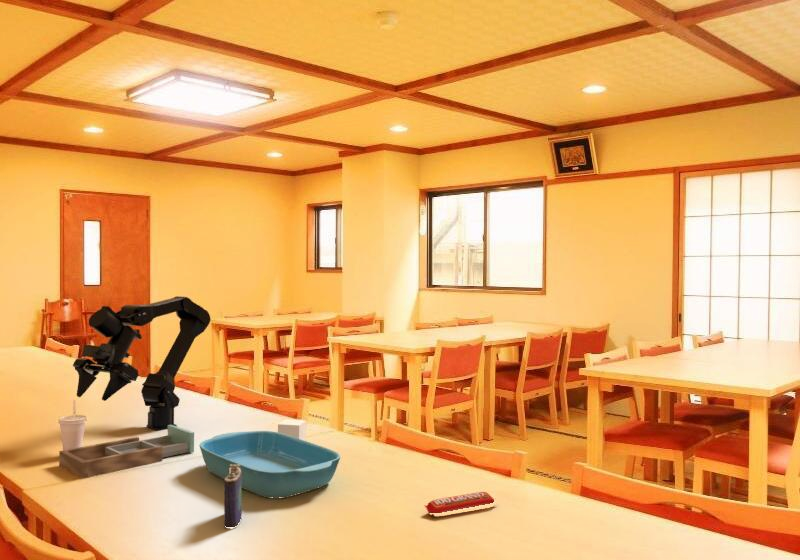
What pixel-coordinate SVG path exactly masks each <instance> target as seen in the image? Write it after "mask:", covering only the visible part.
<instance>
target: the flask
mask: <svg viewBox="0 0 800 560" xmlns="http://www.w3.org/2000/svg"><path fill="white" fill-rule="evenodd" d="M229 466H230V467H231V468H229V470H228V476H227V477H226V478H225V479H223V484H224V485H223V486H224V487H223V488H224V490H223V492H224V493H223V494H224V499H223V501H224V503H223V509H224V521H223V523H224V525H225V526H226V527H235V526H237V525H238V523H239V522H240V519H241V520H242V488H241V484H242V480H241V478H242V472H241V469H240V468H239V467H238V466H240V465H238V464H237V465H235V464H234V465H232V464H231V465H229ZM240 523H241V522H240Z"/></svg>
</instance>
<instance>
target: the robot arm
mask: <svg viewBox="0 0 800 560" xmlns="http://www.w3.org/2000/svg"><path fill="white" fill-rule="evenodd" d="M173 313H175V314H176V316H177V317H178V318H179V320H180V321H179V323H178V324H179V333H178V334H177V336H176V338H175V340H174V342H173V344H172V345H171V347H170V349H169V351H168V354H167V355H166V357H165V359H164V361H163V362H162V365H160V368H159V370H158V371H157V372H156V373H153V372H152V373H148V375H147V376H146V378H145V381H144V382H143V383H142V384H141V385H142V387H141V396H142V399H143V402H144V405H145V407H148V406H149V409H148V412H147V424H146V427H148V428H150V429H153V430H155V431H159V430H165V429H168V425H174V426H177V427H178V425H177V424H175V408H176V407H179V403H180V399H181V398H179V397H178V395H177V394H175V392H174V391H175V389H176V383H175V382H176V381H175V377H176V375H177V373H178V372H179V370H180V368H181V366H182V364H183V361H184V360H185V358H186V356H187V354H188V352H189V350H190V349H191V346H193V345H192V344H193V343H194V341H195V339H196V338H197V337H199V336H200V335H201V334H202V333H204V332H205V331H206V329H208V327H209V325H210V322H211V315H210V313H209V311H208V310H207V309H205V308H204V307H203V306H201V305H199V304H197V303H196V302H193V300H192V299H191V298H189V297H188V296H177V295H176V296H174V297H171V298H168V299H163V300H160V301H155V302H152V303H148V304H125V305H122V306H121V308H120V310H118V311H116V312H115V311H114V310H113V309H112V308H111V307H110V306H109V305H102V307H101V308H100V309H98V310H96V311H95V312H94V313H93V314H91V315H90V317H89V319H88V326H89V327H90V328H92V329H93V330H94V331H96V332H97V333H99V334H100V335H101V336H103V337H105V338H109V339H108V341H107V342H106V343H103V342H102V343H100V344H99V345H93V344H92V345H90V344H83V346H82V351H81V356H80V357H79V358H75V360H74V362H73V364H72V367H73V368H74V370H75V371H76V372H77V374H78V382H77V390H76V397H77V398H81V397H82V396H83V395H84V394H85V393H86V392H87V390H89V388H90V387H91V385H93V383H94V382H95V381H96V380H97V375H99V374H100V372H101V373H107V374H108V373H109V381H108V383H107V385H106V387H105V388H104V390H103V391H104V392H103V394H102V396H101V401H104V402H106V401H107V400H109V399H110V398H111V397H112V396H113V395H115V394H116V393H117V392H119V391H121V389H122V388H124V387H126V386H127V385H129V384H131V383H132V382H136V381H137V380H138V377H139V370H138V369H137V368H136V367H134V366H133V365H131V364H130V363H128V362H125V361H124V360H125V359H129V357H130V354H129V353H128V352H129V349H130V347H131V346H132V344H133V342H134V340H142V338H143V337H142V334H141V332H140V329H137V328H133V326H134V327H143V326H146V325H148V324H150V323H152V322H153V320H154V319H155V318H158V317H162V316H165V315H170V314H173ZM86 357H87V358H86ZM90 358H92V359H90Z"/></svg>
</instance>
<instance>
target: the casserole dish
mask: <svg viewBox="0 0 800 560" xmlns="http://www.w3.org/2000/svg"><path fill="white" fill-rule="evenodd" d="M199 449H200V451H201V455H202V458H203V462H204V464H205V466H206V468H207V469H208V471H210V472H211V473H212V474H214V475H215V476H217V477H219V478H221V479H223V480H224V479H225V478H226V477H227V476H228V470H229V468H231V467H230V466H229V465H231V464H232V465H234V464H235V465H237V464H238V465H240V466H238V467H239V468H240V469H241V472H242V478H241V480H242V484H241V487H242V488H241V489H244V488H245V489H244V490H246V489H247V490H246V491H248V490H249V492H250V491H251V492H250V493H253V492H254V493H253V494H255V493H256V495H258V494H259V495H258V496H260V495H262V496H261V497H263V496H265V498H267V497H273V498H272V499H274V498H279V497H286V498H288V497H287V496H290V497H292V496H291V495H294V496H296V495H295V494H298V493H301V494H303V493H302V492H304V493H306V492H305V491H308V490H311V491H313V490H312V489H315V488H318V487H320V488H322V487H321V486H323V487H325V486H326V485H327V484H328V483H330V482H331V480H333V477H334V475H335V473H336V470H337V468H338V465H339V462H340V459H341V454H340V453H338V452H336V451H335V450H332V449H331V448H327V447H326V446H325V447H324V446H322V445H319V444H316V443H314V442H311V441H308V440H306V441H304V440H301V439H298V438H295V437H292V436H289V435H286V434H282V433H278V431H272V430H250V431H234V432H227V433H221V434H217V435H215V436H212V437H211V438H208V439H205V440H203V441H201V442H200V443H199ZM324 485H325V486H324ZM318 489H319V488H318ZM315 490H316V489H315ZM308 492H309V491H308ZM298 495H299V494H298ZM279 499H280V498H279Z"/></svg>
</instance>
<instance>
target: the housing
mask: <svg viewBox="0 0 800 560" xmlns="http://www.w3.org/2000/svg"><path fill="white" fill-rule="evenodd" d="M135 441H140V437H139V436H133V437H130V438H123V439H118V440H112V441H107V442H102V443H96V444H91V445H85V446H82V447H79V448H74V449H68V450H63V449H62V450H59V451H58V452H59V458H58V459H59V461H58V462H59V463H58V464H59V467H61V468H63V469H64V468H65V469H64V470H66V469H67V470H66V471H68V472H70V473H72V474H74V475H75V474H76V475H75V476H77V475H78V476H77V477H79V478H81V477H82V478H81V479H86V477H87V478H90V477H95V475H96V476H99V474H100V475H104V474H105V475H106V474H109V473H113V472H119V471H123V470H127V469H128V470H129V469H131V468H135V467H140V466H146V465H150V464H154V463H160V462H162V461H163V458H162V446H157V447H152V448H147V449H142V450H137V451H132V452H127V453H122V454H117V455H112V456H107V457H105V447H109V446H114V445H120V444H125V443H130V442H135Z"/></svg>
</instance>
